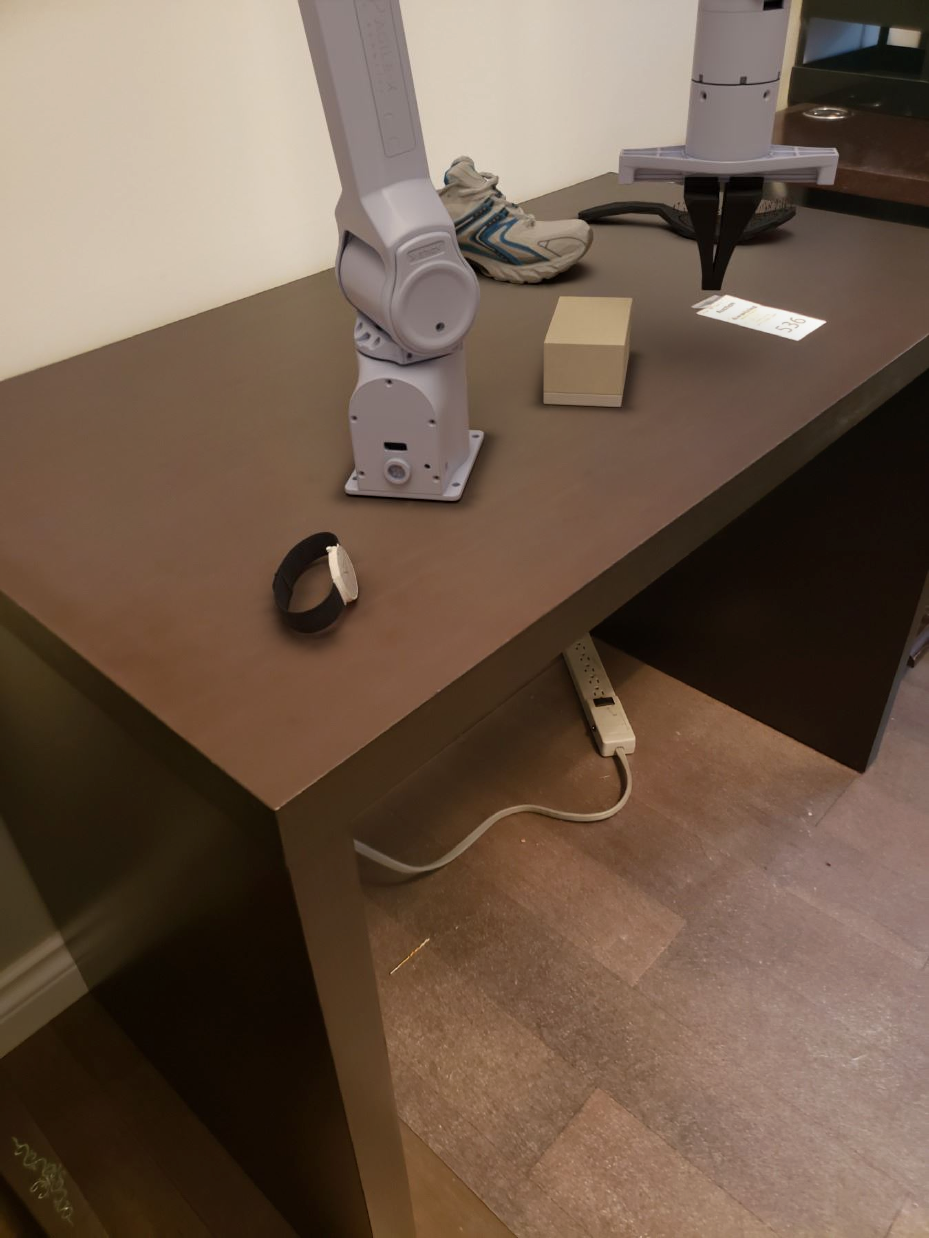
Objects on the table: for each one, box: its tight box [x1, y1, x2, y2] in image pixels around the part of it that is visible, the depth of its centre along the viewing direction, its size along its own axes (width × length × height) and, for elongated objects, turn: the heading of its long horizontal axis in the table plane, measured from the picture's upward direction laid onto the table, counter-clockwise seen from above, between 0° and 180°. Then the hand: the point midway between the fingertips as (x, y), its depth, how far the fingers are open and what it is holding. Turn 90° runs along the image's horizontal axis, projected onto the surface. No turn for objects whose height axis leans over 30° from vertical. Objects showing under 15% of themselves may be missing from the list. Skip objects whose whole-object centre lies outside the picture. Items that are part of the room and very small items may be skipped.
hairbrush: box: [577, 195, 797, 244], centre depth 106 cm, size 8×4×25 cm
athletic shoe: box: [436, 155, 594, 285], centre depth 97 cm, size 10×23×12 cm, turn 78°
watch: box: [271, 531, 359, 635], centre depth 53 cm, size 8×5×4 cm, turn 3°
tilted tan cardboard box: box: [543, 295, 633, 408], centre depth 75 cm, size 10×5×6 cm
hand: (711, 286), depth 70 cm, fingers closed
